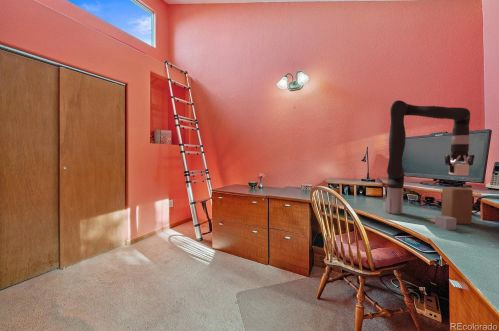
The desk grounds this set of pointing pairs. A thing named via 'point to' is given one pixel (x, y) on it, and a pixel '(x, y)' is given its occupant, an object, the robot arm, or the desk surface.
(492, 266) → the desk surface
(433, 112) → the robot arm
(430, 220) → the tile
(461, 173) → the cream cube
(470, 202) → the wooden block
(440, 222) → the mauve cube
